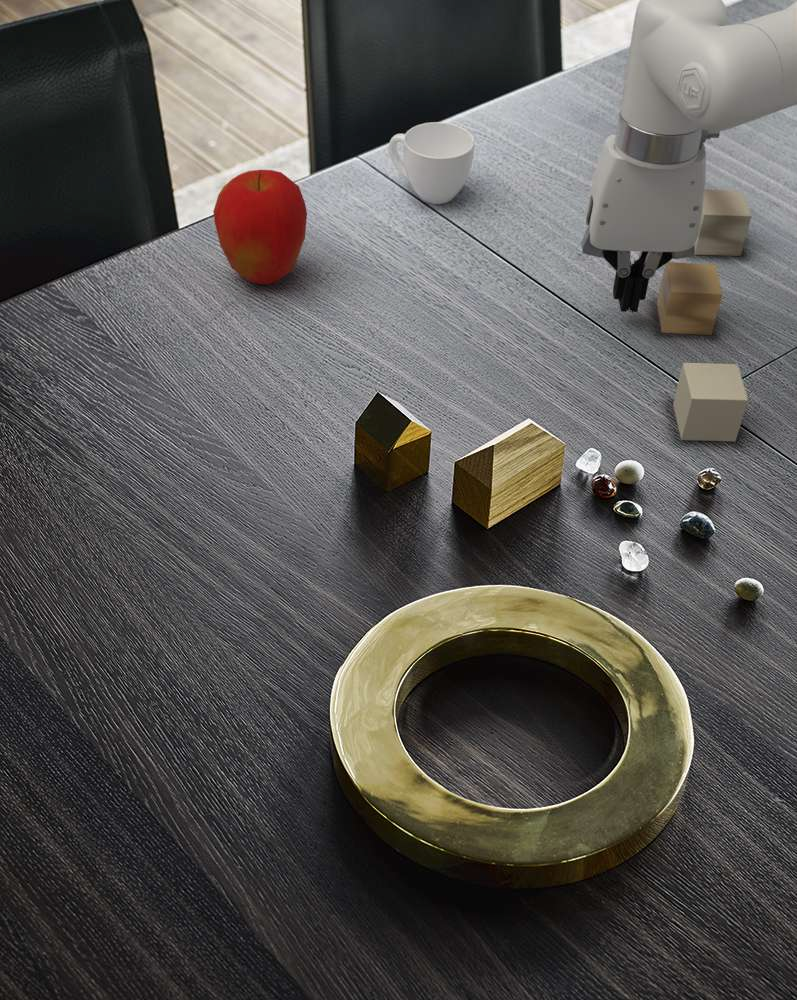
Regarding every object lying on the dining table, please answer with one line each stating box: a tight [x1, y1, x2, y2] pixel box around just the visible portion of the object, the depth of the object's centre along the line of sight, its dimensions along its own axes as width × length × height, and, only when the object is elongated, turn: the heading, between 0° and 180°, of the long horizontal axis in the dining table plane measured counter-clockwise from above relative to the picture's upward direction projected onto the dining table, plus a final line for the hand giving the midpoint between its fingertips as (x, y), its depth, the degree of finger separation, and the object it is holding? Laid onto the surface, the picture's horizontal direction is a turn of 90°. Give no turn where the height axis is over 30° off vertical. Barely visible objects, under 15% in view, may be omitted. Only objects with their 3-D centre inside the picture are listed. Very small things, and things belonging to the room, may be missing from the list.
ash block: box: [694, 188, 752, 257], centre depth 134 cm, size 5×5×5 cm
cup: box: [387, 121, 476, 205], centre depth 139 cm, size 8×10×7 cm
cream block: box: [672, 362, 749, 443], centre depth 113 cm, size 5×5×5 cm
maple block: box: [656, 261, 724, 336], centre depth 124 cm, size 5×5×5 cm
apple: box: [213, 169, 308, 286], centre depth 125 cm, size 9×9×12 cm
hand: (627, 303), depth 124 cm, fingers closed
